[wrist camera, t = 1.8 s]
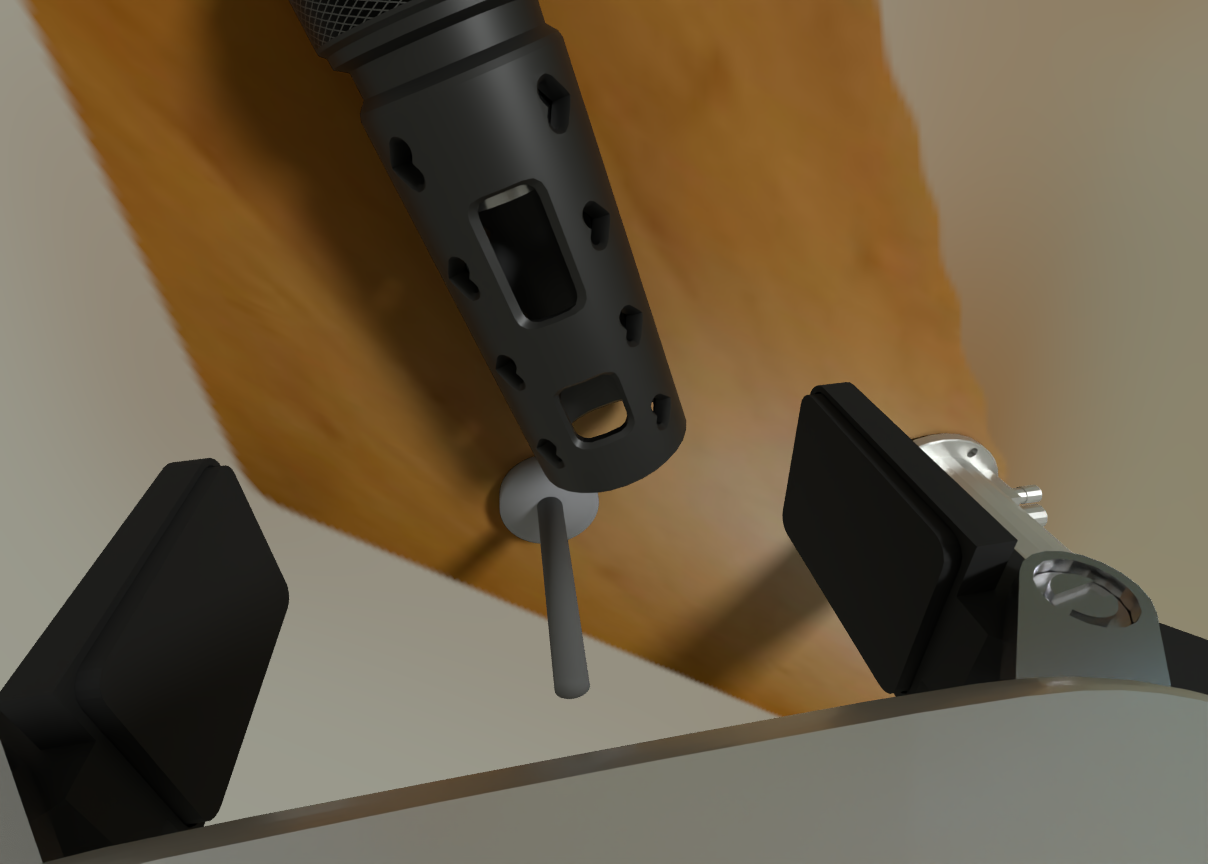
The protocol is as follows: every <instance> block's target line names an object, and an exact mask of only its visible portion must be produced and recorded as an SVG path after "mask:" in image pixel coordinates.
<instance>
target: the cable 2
mask: <svg viewBox="0 0 1208 864" xmlns="http://www.w3.org/2000/svg"><path fill="white" fill-rule="evenodd" d="M598 506H599V499H598V493H577V492H570V491H566V490H563V489H561V488H558V487H557V486H555V485H554V484H553V483H551V482H550V481H549V480H548V478H547V477H546V475H545V474H544V472H543V470H542V468H541V466H540V464H539V462H538V461H537V459H536V457H535V456H534V457H531V458H528V459H526V460H524V461H522V462H520V463H519V464H517V465H516V466H514V467H513V468H512V469H511V470H510V471H509V472H508V474H507V475H506V476H505V478H504V479H503V482H502V484H501V488H500V514H501V518H502V520H503V523H504V524H505V526H506V527H507V528H508V529H509V530H510V531H511V532H512V533H513V534H514V535H516V536H518V537H519V538H521V539H523V540H526V541H529V542H534V543H541V553H542V564H543V574H544V585H545V595H546V605H547V616H548V626H549V636H550V646H551V657H552V667H553V677H554V688H555V693H556V694H557V696H559V697H561V698H565V699H574V698H578V697H580V696H582V695H584V694H585V693H586V692H587V691H588V690H589V687H590V683H589V677H588V670H587V663H586V658H585V650H584V644H583V637H582V630H581V624H580V617H579V611H578V604H577V597H576V591H575V584H574V578H573V571H572V564H571V558H570V551H569V545H568V539H571V538H573V537H575V536H577V535H578V534H580V533H581V532H583V531H584V530H585V529H586V528H587V527H588V526H589V525H590V524H591V522H592V521H593V520H594V518H595V516H596V513H597V511H598Z"/></svg>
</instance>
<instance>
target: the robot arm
mask: <svg viewBox="0 0 1208 864" xmlns="http://www.w3.org/2000/svg"><path fill="white" fill-rule="evenodd" d="M1041 499H1042V492H1041V490H1040V489H1039V487H1038V486H1036V485H1030V486H1023V487H1017V488H1013V489H1012V488H1011V487H1009V486H1008V485H1007V484H1006V483H1005V482H1003V481H1002V480H1001V479H1000V478H999V477H998V468H997V465H996V461H995V459H994V458H993V456H992V455H991V453H990V452H989V451H988V450H987V449H986V448H985V447H983V446H982V445H981V444H980V443H979V442H977V441H975V440H973V439H972V438H970V437H967V436H963V435H959V434H946V433H944V434H936V435H929V436H926V437H922V438H918V439H915V440H913V441H912V440H911V439H910V438H909V437H908V436H907V435H906V434H905V433H904V432H903V431H902V430H901V429H900V428H899V427H898V426H897V425H895V424H894V423H893V422H892V421H891V420H890V419H889V418H888V417H887V416H886V415H885V414H884V413H883V412H882V411H881V410H880V409H879V408H877V407H876V406H875V405H874V404H873V403H872V402H871V401H870V400H869V399H868V398H867V397H866V396H865V395H864V394H863V393H862V392H861V391H860V390H858V389H857V388H856V387H855V386H854V385H853V384H851V383H850V382H844V383H835V384H827V385H818V386H816V387H814V388H813V389H812V391H811V393H810V395H806V396H805V397H804V398H803V399H802V402H801V407H800V413H799V419H798V425H797V431H796V437H795V442H794V448H793V454H792V460H791V466H790V472H789V478H788V484H787V490H786V496H785V501H784V507H783V515H782V516H783V524H784V528H785V530H786V532H787V534H788V536H789V538H790V539H791V541H792V543H793V544H794V546H795V548H796V549H797V551H798V552H799V554H800V556H801V557H802V559H803V561H804V562H805V564H806V566H807V567H808V569H809V570H810V572H811V574H812V575H813V577H814V579H815V580H816V582H817V584H818V585H819V587H820V588H821V590H822V592H823V593H824V595H825V597H826V598H827V600H828V602H829V603H830V605H831V606H832V608H833V610H834V611H835V613H836V615H837V616H838V618H839V620H840V621H841V623H842V625H843V626H844V628H845V629H846V631H847V633H848V634H849V636H850V638H851V639H852V641H853V643H854V644H855V646H856V647H857V649H858V651H859V652H860V654H861V656H862V657H863V659H864V661H865V662H866V664H867V665H868V667H869V669H870V670H871V672H872V674H873V675H874V677H875V679H876V680H877V682H878V683H879V685H880V686H881V688H882V689H883V690H884V691H885V692H887V693H889V694H891V693H894V694H895V696H896V697H892V698H886V699H880V700H874V701H867V702H862V703H856V704H851V705H845V706H840V707H834V708H829V709H823V710H818V711H812V712H807V713H801V714H796V715H790V716H785V717H779V718H774V719H769V720H763V721H757V722H752V723H746V724H741V725H736V726H730V727H724V728H719V729H714V730H708V731H703V732H697V733H691V734H686V735H680V736H675V737H670V738H664V739H659V740H654V741H648V742H643V743H637V744H633V745H627V746H621V747H616V748H611V749H605V750H600V751H595V752H589V753H584V754H579V755H573V756H568V757H563V758H558V759H552V760H547V761H541V762H536V763H530V764H525V765H520V766H515V767H509V768H505V769H499V770H493V771H489V772H483V773H477V774H472V775H467V776H461V777H456V778H451V779H446V780H440V781H435V782H430V783H425V784H420V785H415V786H409V787H404V788H399V789H394V790H388V791H383V792H378V793H373V794H368V795H363V796H357V797H353V798H347V799H342V800H337V801H331V802H326V803H321V804H316V805H310V806H306V807H300V808H295V809H290V810H285V811H280V812H274V813H269V814H264V815H259V816H253V817H248V818H243V819H239V820H234V821H229V822H224V823H219V824H214V825H210V826H205V827H204V824H205V821H210V820H212V819H213V818H214V817H215V816H216V814H217V813H218V811H219V809H220V807H221V804H222V801H223V798H224V795H225V792H226V790H227V787H228V784H229V781H230V778H231V775H232V772H233V769H234V766H235V763H236V760H237V757H238V754H239V751H240V748H241V745H242V742H243V739H244V736H245V733H246V730H247V727H248V724H249V721H250V718H251V715H252V712H253V709H254V706H255V703H256V700H257V697H258V694H259V692H260V688H261V686H262V682H263V679H264V677H265V674H266V671H267V668H268V665H269V662H270V659H271V656H272V653H273V650H274V647H275V644H276V641H277V638H278V635H279V632H280V629H281V626H282V623H283V620H284V617H285V614H286V611H287V608H288V604H289V592H288V587H287V584H286V582H285V580H284V578H283V575H282V573H281V571H280V569H279V567H278V565H277V563H276V560H275V558H274V556H273V554H272V552H271V550H270V548H269V546H268V543H267V541H266V539H265V537H264V535H263V533H262V531H261V529H260V526H259V524H258V522H257V520H256V518H255V516H254V514H253V512H252V509H251V507H250V505H249V503H248V501H247V499H246V497H245V495H244V492H243V490H242V488H241V486H240V484H239V482H238V480H237V478H236V475H235V474H234V472H233V470H232V469H231V468H230V467H229V466H220V464H219V463H218V462H217V461H216V460H215V459H212V458H206V459H198V460H189V461H181V462H173V463H169V464H167V465H166V466H165V467H164V468H163V470H162V471H161V472H160V473H159V475H158V476H157V478H156V479H155V480H154V482H153V483H152V484H151V486H150V487H149V489H148V490H147V491H146V493H145V494H144V495H143V497H142V498H141V499H140V501H139V502H138V504H137V505H136V506H135V508H134V509H133V511H132V512H131V513H130V515H129V516H128V517H127V519H126V520H125V521H124V523H123V524H122V525H121V527H120V528H119V530H118V531H117V532H116V534H115V535H114V536H113V538H112V539H111V541H110V542H109V543H108V545H107V546H106V548H105V549H104V550H103V552H102V553H101V554H100V556H99V557H98V558H97V560H96V561H95V562H94V564H93V565H92V567H91V568H90V569H89V571H88V572H87V573H86V575H85V576H84V578H83V579H82V580H81V582H80V583H79V584H78V586H77V587H76V589H75V590H74V591H73V593H72V594H71V595H70V597H69V598H68V599H67V601H66V602H65V604H64V605H63V607H62V608H61V609H60V610H59V612H58V613H57V615H56V616H55V617H54V619H53V620H52V621H51V623H50V624H49V625H48V627H47V628H46V630H45V631H44V632H43V634H42V635H41V636H40V638H39V639H38V641H37V642H36V643H35V645H34V646H33V647H32V649H31V650H30V651H29V653H28V654H27V656H26V657H25V658H24V660H23V661H22V662H21V664H20V665H19V667H18V668H17V669H16V671H15V672H14V673H13V675H12V676H11V677H10V679H9V680H8V682H7V683H6V684H5V686H4V687H3V689H2V690H1V691H0V864H1208V640H1206V639H1203V638H1201V637H1198V636H1194V635H1192V634H1189V633H1187V632H1183V631H1181V630H1178V629H1175V628H1173V627H1170V626H1167V625H1164V624H1161V623H1159V621H1158V616H1157V612H1156V610H1155V608H1154V606H1153V603H1152V601H1151V599H1150V598H1149V597H1148V596H1147V595H1146V593H1145V592H1144V591H1143V590H1142V589H1141V588H1140V587H1139V586H1138V585H1137V584H1136V583H1134V582H1133V581H1132V580H1131V579H1129V578H1128V577H1126V576H1125V575H1124V574H1122V573H1121V572H1119V571H1117V570H1115V569H1114V568H1112V567H1110V566H1108V565H1106V564H1104V563H1102V562H1100V561H1097V560H1094V559H1091V558H1088V557H1086V556H1083V555H1079V554H1074V553H1072V552H1071V551H1070V550H1069V549H1068V548H1066V547H1065V546H1064V545H1063V544H1062V543H1061V542H1060V541H1058V540H1057V539H1056V538H1055V537H1054V536H1053V535H1052V534H1051V533H1049V532H1048V531H1047V530H1046V529H1045V528H1044V527H1043V526H1045V524H1046V523H1047V514H1046V511H1045V510H1044V509H1043V507H1042V506H1040V505H1038V504H1031V505H1024V506H1019V504H1020V503H1021V504H1024V503H1031V502H1038V501H1040V500H1041Z"/></svg>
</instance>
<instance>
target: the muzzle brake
mask: <svg viewBox="0 0 1208 864" xmlns="http://www.w3.org/2000/svg"><path fill="white" fill-rule="evenodd" d="M289 2H290V4H291V5H292V7H293V9H294V11H295V13H296V15H297V17H298V19H299V21H300V22H301V24H302V26H303V28H304V30H305V32H306V34H307V36H308V38H309V40H310V41H311V43H312V45H313V47H314V49H315V51H316V53H317V54H318V55H319V56H320V57H323V58H325V59H327V60H328V61H329V63H330V65H331V67H332V69H333V70H334V71H340V72H346V73H350V74H351V76H352V78H353V80H354V82H355V84H356V86H357V88H358V90H359V92H360V94H361V96H362V97H363V99H364V102H363V105H362V109H361V113H360V117H361V123H362V125H363V126H364V128H365V130H366V132H367V134H368V136H369V138H370V140H371V142H372V144H373V146H374V148H375V150H376V151H377V153H378V155H379V157H380V159H381V161H382V163H383V165H384V167H385V169H386V171H387V173H388V174H389V176H390V178H391V180H392V182H393V184H394V186H395V188H396V190H397V192H398V194H399V196H400V198H401V199H402V201H403V203H404V205H405V207H406V209H407V211H408V213H409V215H410V217H411V219H412V221H413V222H414V224H415V226H416V228H417V230H418V232H419V234H420V236H421V238H422V240H423V242H424V244H425V246H426V247H427V249H428V251H429V253H430V255H431V257H432V259H433V261H434V263H435V265H436V267H437V269H438V270H439V272H440V274H441V276H442V278H443V280H444V282H445V284H446V286H447V288H448V290H449V292H450V294H451V295H452V297H453V299H454V301H455V303H456V305H457V307H458V309H459V311H460V313H461V315H462V317H463V318H464V320H465V322H466V324H467V326H468V328H469V330H470V332H471V334H472V336H473V338H474V340H475V342H476V343H477V345H478V347H479V349H480V351H481V353H482V355H483V357H484V359H485V361H486V363H487V365H488V366H489V368H490V370H491V372H492V374H493V376H494V378H495V380H496V382H497V384H498V386H499V388H500V390H501V391H502V393H503V395H504V397H505V399H506V401H507V403H508V405H509V407H510V409H511V411H512V413H513V414H514V416H515V418H516V420H517V422H518V424H519V426H520V428H521V430H522V432H523V434H524V436H525V438H526V439H527V441H528V443H529V445H530V447H531V449H532V451H533V453H534V455H535V457H536V459H537V461H538V462H539V464H540V466H541V468H542V470H543V472H544V474H545V475H546V477H547V478H548V480H549V481H550V482H551V483H553V484H554V485H555V486H557V487H558V488H561V489H563V490H566V491H570V492H577V493H598V492H605V491H611V490H614V489H617V488H621V487H624V486H627V485H629V484H631V483H634V482H636V481H638V480H640V479H642V478H644V477H646V476H647V475H649V474H651V473H652V472H654V471H655V470H657V469H658V468H659V467H660V466H661V465H663V464H664V463H665V462H666V461H667V460H668V459H669V458H670V457H671V456H672V455H673V454H674V453H675V452H676V450H677V449H678V447H679V445H680V444H681V442H682V441H683V438H684V435H685V431H686V419H685V416H684V412H683V409H682V406H681V403H680V400H679V397H678V394H677V391H676V388H675V385H674V381H673V378H672V375H671V372H670V369H669V366H668V363H667V360H666V356H665V353H664V350H663V347H662V344H661V341H660V338H659V335H658V332H657V328H656V325H655V322H654V319H653V316H652V313H651V310H650V307H649V304H648V301H647V298H646V294H645V291H644V288H643V285H642V282H641V279H640V276H639V272H638V269H637V266H636V263H635V260H634V257H633V254H632V251H631V248H630V244H629V241H628V238H627V235H626V232H625V229H624V226H623V223H622V220H621V217H620V214H619V211H618V207H617V204H616V201H615V198H614V195H613V192H612V189H611V186H610V183H609V179H608V176H607V173H606V170H605V167H604V164H603V161H602V157H601V154H600V151H599V148H598V145H597V142H596V139H595V136H594V133H593V130H592V126H591V123H590V120H589V117H588V114H587V111H586V108H585V105H584V102H583V99H582V96H581V92H580V89H579V86H578V83H577V80H576V77H575V74H574V71H573V68H572V65H571V61H570V58H569V55H568V52H567V49H566V46H565V42H564V39H563V36H562V35H561V34H560V33H559V31H558V30H556V29H555V28H553V27H551V26H549V25H548V24H546V23H545V21H544V18H543V15H542V11H541V8H540V5H539V2H538V0H289ZM617 401H623V403H624V406H625V409H626V411H627V418H626V421H625V423H624V424H623V425H622V426H621V427H619V428H617V429H614V430H612V431H610V432H608V433H605V434H602V435H599V436H596V437H593V438H583V437H581V436H579V435H578V434H577V433H576V431H575V430H574V428H573V426H572V423H573V422H574V421H576V420H577V419H578V418H580V417H582V416H583V415H585V414H587V413H589V412H590V411H593V410H596V409H598V408H601V407H603V406H606V405H609V404H611V403H614V402H617ZM652 402H653V404H654V406H653V411H652V409H651V403H652Z"/></svg>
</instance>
